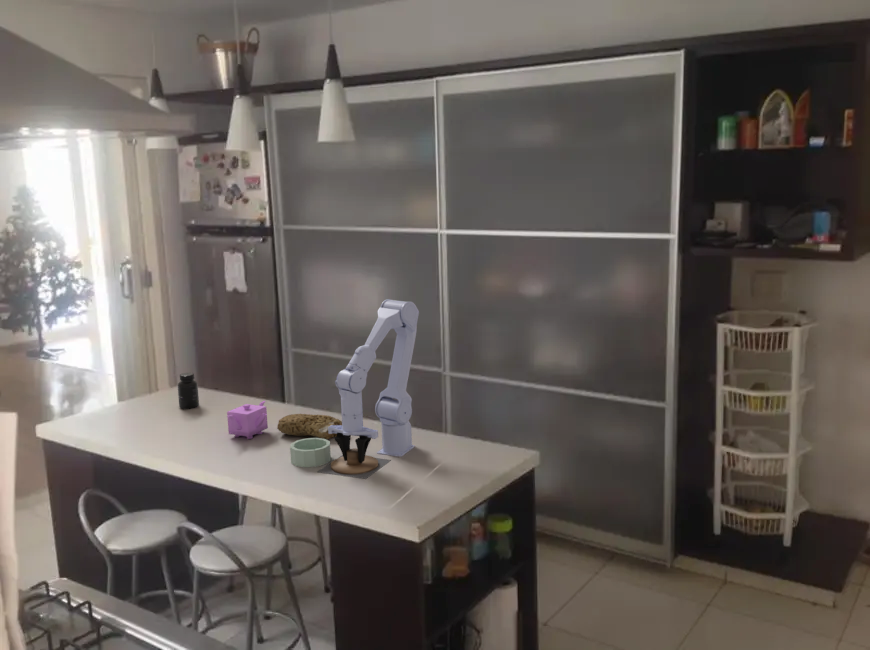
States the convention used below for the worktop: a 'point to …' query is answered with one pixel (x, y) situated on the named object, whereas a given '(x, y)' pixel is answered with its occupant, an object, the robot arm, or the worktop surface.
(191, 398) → the supplement bottle
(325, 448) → the bowl
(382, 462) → the mat
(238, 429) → the teapot
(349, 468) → the lid
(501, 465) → the worktop surface
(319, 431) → the sponge
